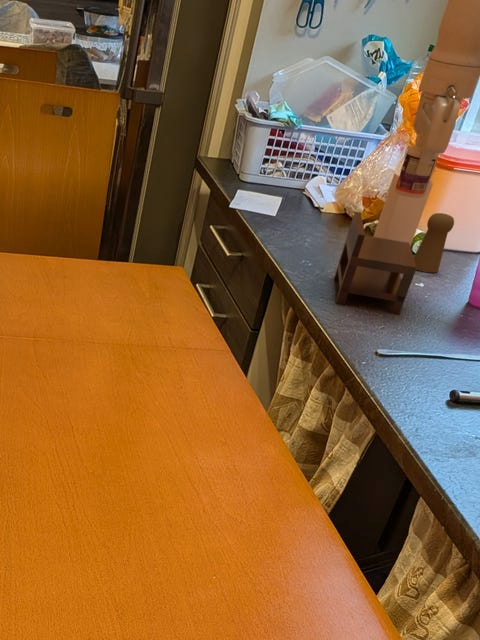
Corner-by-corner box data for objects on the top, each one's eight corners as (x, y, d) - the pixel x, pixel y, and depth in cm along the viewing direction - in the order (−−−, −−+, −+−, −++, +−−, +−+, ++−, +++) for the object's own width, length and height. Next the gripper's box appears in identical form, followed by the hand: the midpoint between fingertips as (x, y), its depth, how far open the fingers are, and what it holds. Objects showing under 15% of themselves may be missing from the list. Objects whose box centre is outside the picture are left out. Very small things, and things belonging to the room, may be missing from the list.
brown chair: (392, 288, 190) (416, 221, 182) (398, 315, 178) (425, 245, 170) (333, 277, 192) (354, 211, 183) (335, 304, 180) (358, 234, 171)
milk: (370, 277, 194) (409, 162, 180) (362, 268, 199) (399, 155, 185) (399, 280, 194) (439, 165, 180) (390, 270, 199) (429, 158, 185)
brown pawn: (417, 261, 206) (436, 208, 199) (443, 269, 203) (463, 216, 196) (405, 265, 203) (424, 212, 195) (430, 274, 199) (451, 220, 192)
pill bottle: (398, 188, 172) (418, 130, 166) (427, 195, 170) (448, 136, 164) (390, 193, 169) (409, 133, 163) (419, 200, 167) (440, 140, 161)
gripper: (476, 94, 150) (442, 186, 159) (460, 75, 165) (429, 160, 174) (436, 88, 151) (405, 180, 160) (423, 70, 166) (395, 154, 175)
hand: (417, 169), depth 167 cm, fingers closed on pill bottle, 5 cm apart
